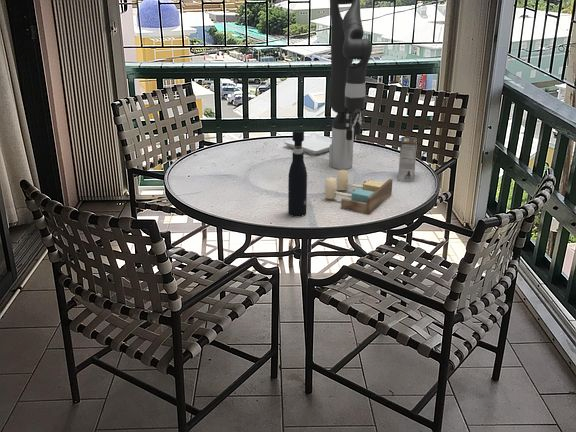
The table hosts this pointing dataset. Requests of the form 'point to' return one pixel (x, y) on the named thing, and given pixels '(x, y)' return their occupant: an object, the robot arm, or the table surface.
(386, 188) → the lane rack
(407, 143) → the coffee box
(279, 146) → the table surface
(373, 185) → the yellow peg toy
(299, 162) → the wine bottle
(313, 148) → the salad plate
